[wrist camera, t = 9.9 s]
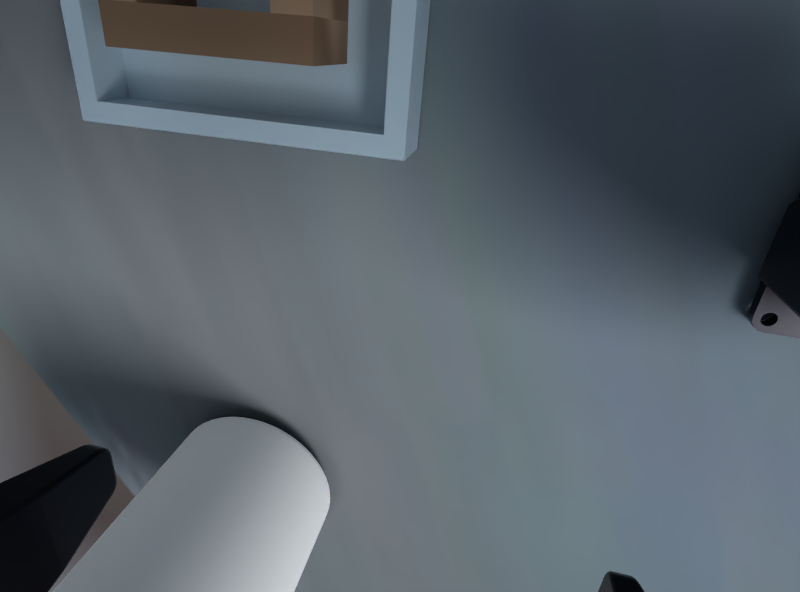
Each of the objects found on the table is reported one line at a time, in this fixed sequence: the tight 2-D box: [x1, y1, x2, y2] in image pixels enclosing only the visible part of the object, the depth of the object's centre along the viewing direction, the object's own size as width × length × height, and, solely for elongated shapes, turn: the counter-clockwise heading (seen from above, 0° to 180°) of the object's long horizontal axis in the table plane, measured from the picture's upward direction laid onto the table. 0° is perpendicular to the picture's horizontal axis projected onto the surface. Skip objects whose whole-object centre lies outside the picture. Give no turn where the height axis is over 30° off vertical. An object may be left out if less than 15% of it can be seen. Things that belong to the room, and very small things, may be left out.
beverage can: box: [53, 417, 330, 592], centre depth 21 cm, size 8×8×12 cm
